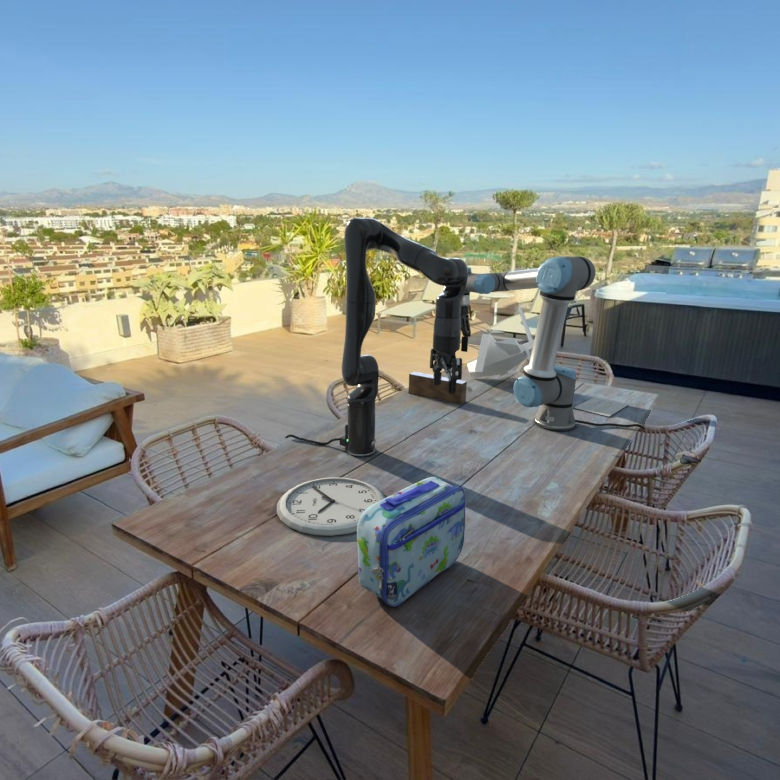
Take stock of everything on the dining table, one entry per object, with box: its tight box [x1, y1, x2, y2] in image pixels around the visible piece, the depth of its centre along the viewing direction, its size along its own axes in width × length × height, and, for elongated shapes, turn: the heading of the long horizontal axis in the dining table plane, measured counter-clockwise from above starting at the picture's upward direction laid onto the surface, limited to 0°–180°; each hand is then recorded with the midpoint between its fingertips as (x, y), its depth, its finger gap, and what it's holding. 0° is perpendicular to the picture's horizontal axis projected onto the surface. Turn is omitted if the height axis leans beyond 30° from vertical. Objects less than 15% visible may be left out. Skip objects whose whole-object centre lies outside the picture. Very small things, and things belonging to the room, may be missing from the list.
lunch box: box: [356, 476, 466, 608], centre depth 110 cm, size 26×11×21 cm, turn 134°
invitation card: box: [573, 396, 629, 418], centre depth 226 cm, size 21×1×15 cm
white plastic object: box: [466, 306, 534, 379], centre depth 257 cm, size 37×45×31 cm
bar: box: [408, 371, 468, 405], centre depth 234 cm, size 26×5×9 cm, turn 57°
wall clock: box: [276, 476, 386, 537], centre depth 142 cm, size 30×2×30 cm
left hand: (444, 388), depth 149 cm, fingers open, 8 cm apart
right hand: (457, 354), depth 224 cm, fingers open, 13 cm apart
